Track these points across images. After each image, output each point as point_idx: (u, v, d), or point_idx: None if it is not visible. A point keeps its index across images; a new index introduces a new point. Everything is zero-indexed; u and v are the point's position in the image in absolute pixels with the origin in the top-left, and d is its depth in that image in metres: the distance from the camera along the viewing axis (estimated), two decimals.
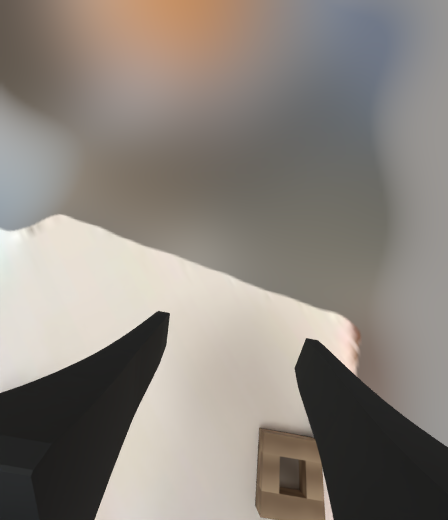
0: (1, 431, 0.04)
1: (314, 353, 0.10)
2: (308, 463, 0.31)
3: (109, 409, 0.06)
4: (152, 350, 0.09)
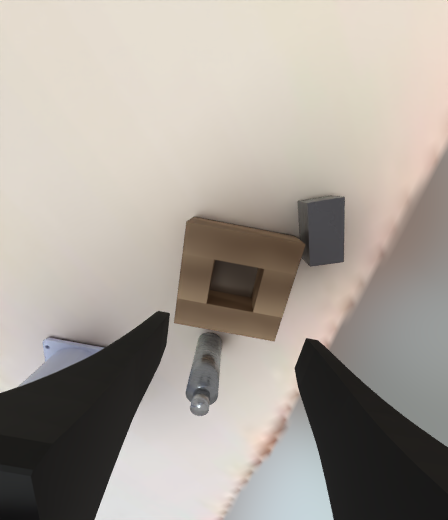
0: (1, 431, 0.04)
1: (314, 353, 0.10)
2: (268, 273, 0.16)
3: (109, 409, 0.06)
4: (152, 350, 0.09)
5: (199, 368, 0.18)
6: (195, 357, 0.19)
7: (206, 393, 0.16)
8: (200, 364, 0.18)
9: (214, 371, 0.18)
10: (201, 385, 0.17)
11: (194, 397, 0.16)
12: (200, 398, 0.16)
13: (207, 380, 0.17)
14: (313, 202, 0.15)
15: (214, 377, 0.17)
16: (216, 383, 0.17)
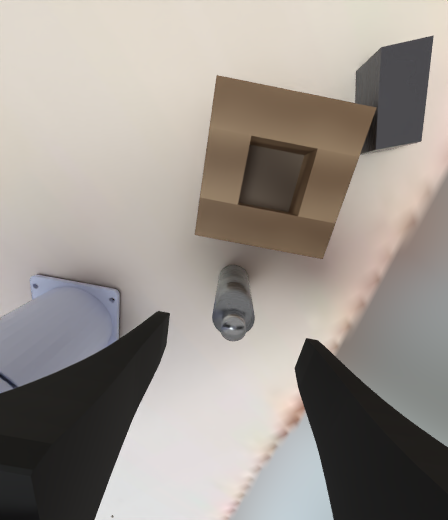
0: (1, 431, 0.04)
1: (314, 353, 0.10)
2: (323, 155, 0.12)
3: (109, 409, 0.06)
4: (152, 351, 0.09)
5: (227, 290, 0.14)
6: (220, 284, 0.15)
7: (240, 314, 0.12)
8: (229, 286, 0.14)
9: (246, 294, 0.14)
10: (233, 304, 0.12)
11: (225, 317, 0.12)
12: (234, 317, 0.12)
13: (241, 298, 0.13)
14: (389, 47, 0.11)
15: (249, 299, 0.13)
16: (251, 305, 0.13)
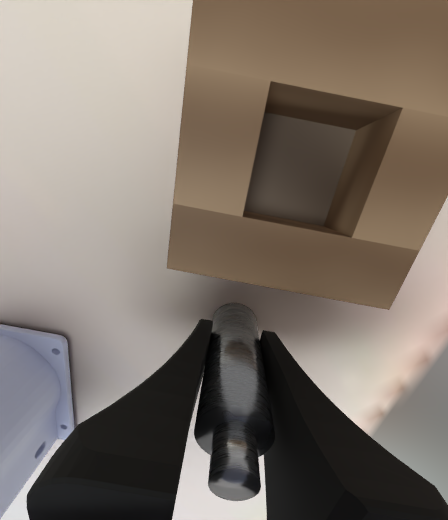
0: (128, 453, 0.04)
1: (266, 344, 0.09)
2: (412, 120, 0.06)
3: None
4: (204, 360, 0.09)
5: (224, 370, 0.08)
6: (212, 346, 0.09)
7: (249, 436, 0.06)
8: (227, 360, 0.08)
9: (258, 377, 0.08)
10: (234, 414, 0.06)
11: (219, 449, 0.06)
12: (236, 454, 0.06)
13: (249, 400, 0.07)
14: None
15: (263, 393, 0.07)
16: (268, 407, 0.07)
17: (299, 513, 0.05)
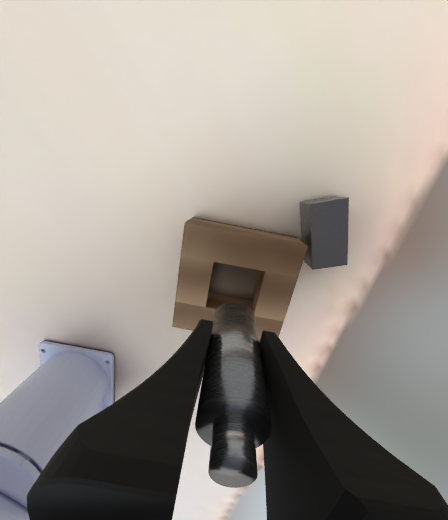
0: (128, 453, 0.04)
1: (266, 344, 0.09)
2: (270, 275, 0.16)
3: None
4: (204, 360, 0.09)
5: (224, 366, 0.08)
6: (212, 343, 0.10)
7: (247, 428, 0.07)
8: (227, 356, 0.08)
9: (256, 373, 0.08)
10: (234, 408, 0.07)
11: (218, 440, 0.06)
12: (235, 444, 0.06)
13: (247, 395, 0.07)
14: (316, 203, 0.15)
15: (261, 388, 0.08)
16: (266, 401, 0.07)
17: (299, 513, 0.05)
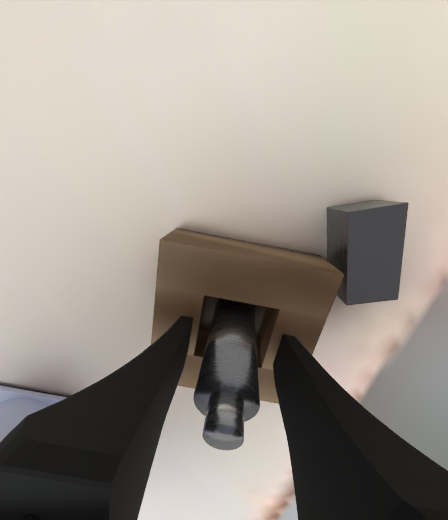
0: (70, 443, 0.04)
1: (288, 348, 0.09)
2: (286, 315, 0.11)
3: (153, 417, 0.06)
4: (181, 356, 0.09)
5: (220, 350, 0.09)
6: (212, 331, 0.11)
7: (237, 402, 0.08)
8: (223, 342, 0.09)
9: (249, 357, 0.09)
10: (226, 385, 0.08)
11: (212, 410, 0.07)
12: (225, 414, 0.07)
13: (239, 375, 0.08)
14: (357, 211, 0.10)
15: (252, 370, 0.09)
16: (256, 381, 0.08)
17: None
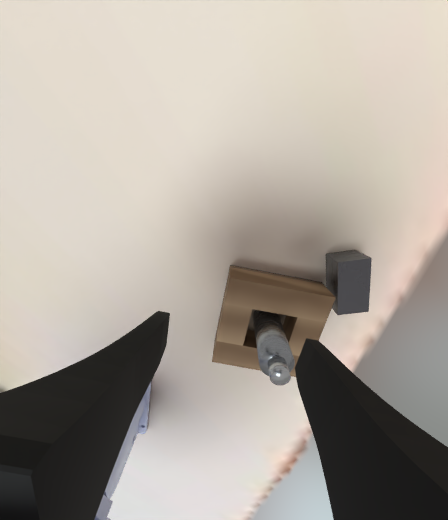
0: (1, 431, 0.04)
1: (314, 353, 0.10)
2: (301, 320, 0.18)
3: (109, 409, 0.06)
4: (152, 350, 0.09)
5: (269, 337, 0.16)
6: (259, 328, 0.18)
7: (284, 361, 0.15)
8: (270, 333, 0.17)
9: (285, 340, 0.16)
10: (278, 353, 0.15)
11: (273, 365, 0.15)
12: (280, 366, 0.14)
13: (283, 348, 0.15)
14: (343, 262, 0.17)
15: (288, 347, 0.16)
16: (291, 352, 0.16)
17: None
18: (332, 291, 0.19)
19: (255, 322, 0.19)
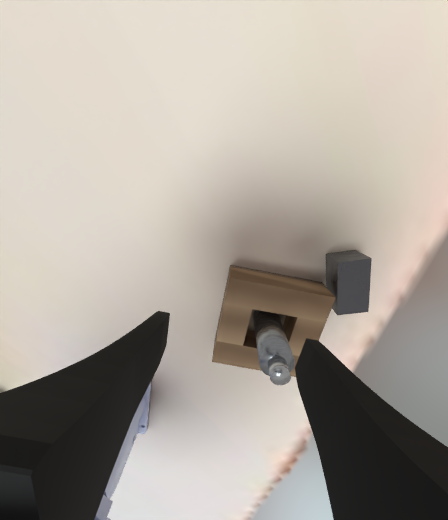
0: (1, 431, 0.04)
1: (314, 353, 0.10)
2: (301, 320, 0.18)
3: (109, 409, 0.06)
4: (152, 350, 0.09)
5: (270, 337, 0.16)
6: (259, 328, 0.18)
7: (284, 361, 0.15)
8: (270, 333, 0.17)
9: (286, 340, 0.16)
10: (278, 353, 0.15)
11: (273, 365, 0.15)
12: (281, 365, 0.14)
13: (284, 347, 0.15)
14: (343, 262, 0.17)
15: (289, 346, 0.16)
16: (291, 352, 0.16)
17: None
18: (332, 291, 0.19)
19: (255, 322, 0.19)
